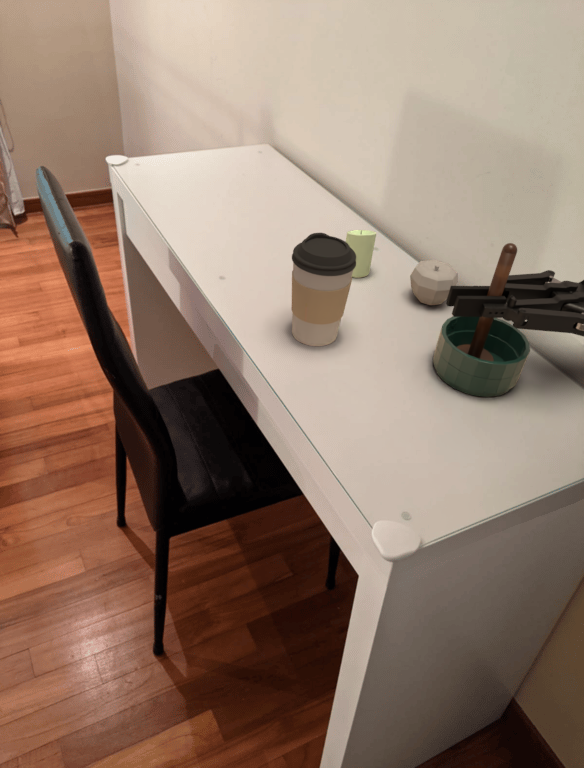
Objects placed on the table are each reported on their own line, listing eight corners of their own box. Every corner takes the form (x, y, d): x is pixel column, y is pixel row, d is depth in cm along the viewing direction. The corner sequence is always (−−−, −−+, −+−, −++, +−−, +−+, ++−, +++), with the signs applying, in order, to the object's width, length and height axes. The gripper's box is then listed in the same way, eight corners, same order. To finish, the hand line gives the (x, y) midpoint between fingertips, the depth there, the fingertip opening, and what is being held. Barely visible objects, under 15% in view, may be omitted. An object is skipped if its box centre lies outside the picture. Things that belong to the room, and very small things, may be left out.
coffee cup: (353, 345, 91) (370, 255, 82) (298, 355, 88) (308, 262, 79) (329, 313, 98) (341, 226, 88) (276, 321, 95) (283, 231, 85)
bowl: (533, 389, 87) (548, 355, 83) (462, 405, 83) (475, 370, 79) (483, 341, 95) (494, 308, 92) (416, 353, 91) (425, 319, 87)
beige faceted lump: (461, 304, 104) (471, 269, 99) (431, 317, 99) (440, 282, 95) (425, 283, 108) (434, 249, 104) (395, 295, 104) (403, 261, 100)
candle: (337, 265, 110) (343, 222, 105) (362, 263, 112) (370, 221, 107) (347, 279, 107) (354, 235, 102) (373, 277, 108) (381, 234, 103)
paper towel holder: (497, 375, 87) (544, 251, 74) (465, 382, 85) (507, 256, 72) (474, 352, 90) (515, 231, 78) (442, 358, 88) (480, 235, 76)
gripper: (633, 357, 80) (463, 358, 76) (579, 297, 91) (429, 295, 88) (660, 308, 75) (480, 307, 72) (599, 251, 86) (441, 248, 83)
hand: (452, 301), depth 80 cm, fingers closed on paper towel holder, 2 cm apart
